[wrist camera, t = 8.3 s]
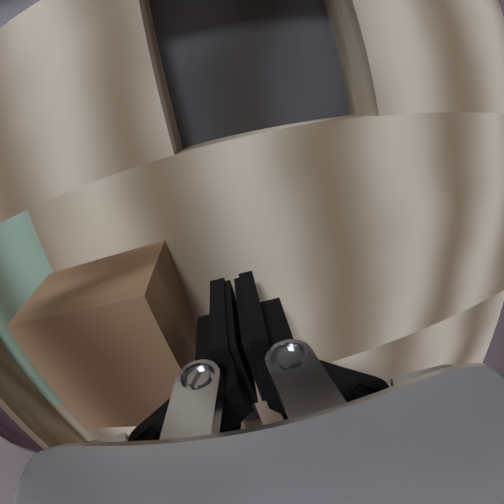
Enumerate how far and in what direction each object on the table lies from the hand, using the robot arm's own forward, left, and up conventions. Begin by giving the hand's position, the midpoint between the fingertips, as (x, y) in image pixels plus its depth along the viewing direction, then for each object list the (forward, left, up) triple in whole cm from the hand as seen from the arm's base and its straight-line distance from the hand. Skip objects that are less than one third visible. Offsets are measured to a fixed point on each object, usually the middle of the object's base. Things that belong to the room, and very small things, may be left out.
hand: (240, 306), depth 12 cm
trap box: (-1, 0, -4) cm, 4 cm away
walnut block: (+5, 0, -1) cm, 5 cm away
